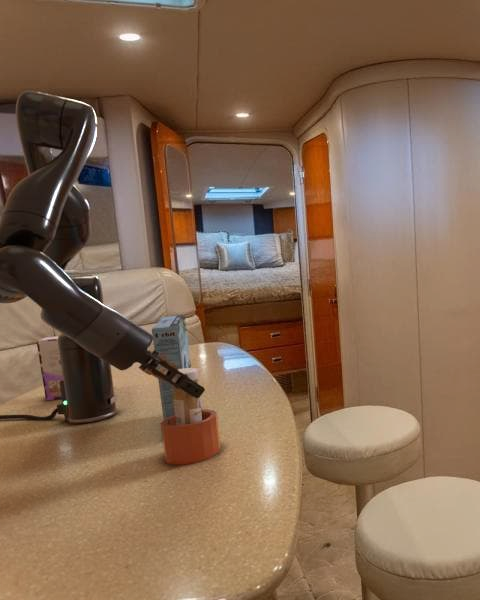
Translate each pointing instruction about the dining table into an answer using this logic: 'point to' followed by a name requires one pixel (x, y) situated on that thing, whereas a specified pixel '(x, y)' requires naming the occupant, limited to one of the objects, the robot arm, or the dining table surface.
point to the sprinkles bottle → (186, 401)
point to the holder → (191, 439)
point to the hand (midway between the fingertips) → (197, 390)
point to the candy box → (50, 366)
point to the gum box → (171, 353)
